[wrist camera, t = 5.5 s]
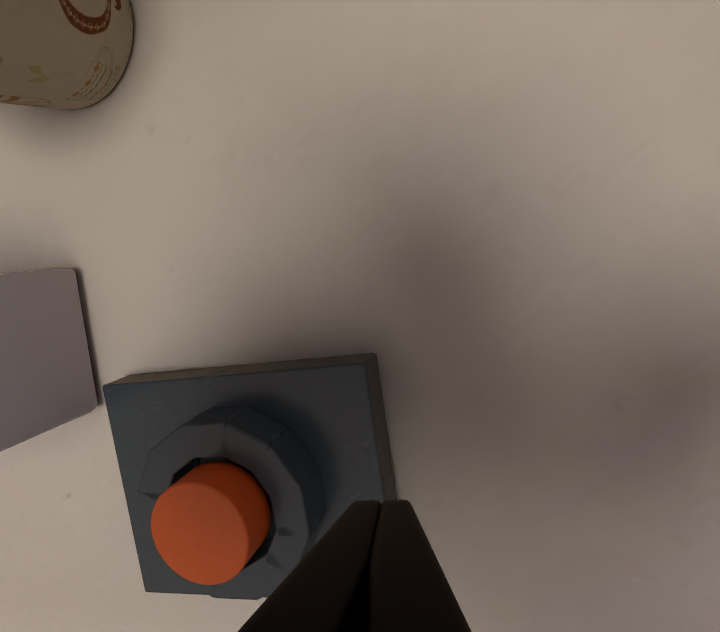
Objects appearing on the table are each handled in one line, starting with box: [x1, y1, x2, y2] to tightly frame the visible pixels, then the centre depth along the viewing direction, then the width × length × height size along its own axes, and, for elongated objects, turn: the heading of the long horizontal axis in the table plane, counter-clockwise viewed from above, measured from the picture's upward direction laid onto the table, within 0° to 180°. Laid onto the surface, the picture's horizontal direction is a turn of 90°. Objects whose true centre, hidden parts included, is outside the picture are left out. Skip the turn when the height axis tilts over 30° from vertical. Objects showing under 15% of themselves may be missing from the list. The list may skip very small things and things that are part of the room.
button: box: [151, 461, 271, 585], centre depth 18 cm, size 4×4×2 cm
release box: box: [103, 353, 397, 600], centre depth 20 cm, size 11×9×4 cm
